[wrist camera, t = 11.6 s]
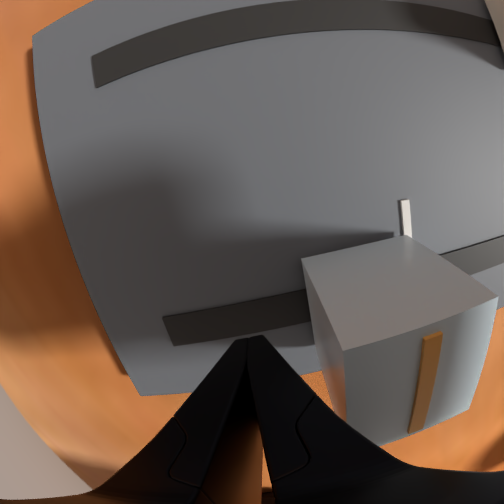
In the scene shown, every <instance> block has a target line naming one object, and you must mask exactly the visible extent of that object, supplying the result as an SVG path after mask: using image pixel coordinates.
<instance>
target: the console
mask: <svg viewBox="0 0 504 504" xmlns="http://www.w3.org/2000/svg"><path fill="white" fill-rule="evenodd" d="M32 43H33V66H34V79H35V90H36V99H37V107H38V114H39V121H40V127H41V133H42V139H43V144H44V149H45V154H46V159H47V164H48V168H49V172H50V177H51V181H52V185H53V189H54V193H55V196H56V200H57V204H58V207H59V211H60V214H61V217H62V221H63V224H64V227H65V230H66V233H67V236H68V239H69V242H70V245H71V248H72V251H73V254H74V257H75V259H76V262H77V265H78V268H79V270H80V273H81V275H82V278H83V280H84V283H85V285H86V288H87V290H88V293H89V295H90V298H91V300H92V302H93V305H94V307H95V309H96V311H97V314H98V316H99V318H100V320H101V322H102V324H103V327H104V329H105V331H106V333H107V335H108V337H109V339H110V341H111V343H112V345H113V347H114V349H115V351H116V353H117V355H118V357H119V359H120V361H121V362H122V364H123V366H124V368H125V370H126V372H127V373H128V375H129V377H130V379H131V381H132V382H133V384H134V386H135V388H136V389H137V391H138V393H139V394H140V396H152V395H167V394H179V393H190V392H193V391H194V390H195V389H196V388H197V386H198V385H199V384H200V383H201V382H202V380H203V379H204V378H205V377H206V375H207V374H208V373H209V372H210V370H211V369H212V368H213V367H214V365H215V364H216V363H217V362H218V360H219V359H220V358H221V357H222V355H223V354H224V353H225V352H226V350H227V349H228V348H229V347H230V345H231V344H232V343H233V341H234V340H236V339H241V338H249V337H252V336H257V335H264V336H265V337H266V338H267V340H268V341H269V342H270V343H271V344H272V345H273V346H274V348H275V349H276V350H277V351H278V352H279V353H280V354H281V356H282V357H283V358H284V359H285V360H286V361H287V362H288V363H289V365H290V366H291V367H292V368H293V369H294V370H295V371H296V372H297V373H298V375H303V374H308V373H312V372H317V371H321V370H322V369H321V366H320V363H319V360H318V356H317V353H316V349H315V342H314V335H313V328H312V322H311V315H310V309H309V303H308V296H307V290H306V284H305V278H304V273H303V267H302V261H301V258H306V257H310V256H315V255H319V254H324V253H328V252H333V251H337V250H342V249H346V248H351V247H355V246H359V245H364V244H368V243H372V242H377V241H381V240H385V239H390V238H394V237H398V236H402V235H408V236H409V237H411V238H413V239H414V240H416V241H417V242H419V243H421V244H422V245H424V246H425V247H427V248H429V249H430V250H432V251H433V252H435V253H436V254H438V255H440V256H441V257H443V258H444V259H446V260H447V261H449V262H450V263H452V264H453V265H455V266H456V267H458V268H459V269H461V270H462V271H464V272H465V273H466V274H468V275H469V276H471V277H472V278H474V279H475V280H477V281H478V282H479V283H481V284H482V285H484V286H485V287H486V288H488V289H489V290H490V291H492V292H493V293H495V294H496V295H497V296H499V297H498V303H497V309H499V308H502V307H504V52H503V49H502V46H501V42H500V39H499V37H498V34H497V31H496V28H495V25H494V23H493V20H492V18H491V15H490V13H489V10H488V8H487V5H486V3H485V1H484V0H94V1H92V2H90V3H88V4H86V5H84V6H82V7H80V8H78V9H76V10H74V11H73V12H71V13H69V14H67V15H65V16H64V17H62V18H60V19H58V20H57V21H55V22H53V23H52V24H50V25H49V26H47V27H45V28H44V29H42V30H41V31H39V32H38V33H36V34H35V35H33V36H32ZM497 309H496V310H497Z"/></svg>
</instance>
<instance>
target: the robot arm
mask: <svg viewBox="0 0 504 504" xmlns="http://www.w3.org/2000/svg"><path fill="white" fill-rule="evenodd" d="M263 449H264V453H265V458H266V463H267V467H268V472H269V476H270V481H271V484H272V490H273V493H266V494H262V459H263ZM0 504H504V471H496V472H473V471H455V470H443V469H433V468H424V467H418V466H413V465H410V464H407V463H405V462H402V461H401V460H399V459H397V458H395V457H394V456H392V455H390V454H389V453H387V452H386V451H385V450H383V449H382V448H380V447H379V446H377V445H376V444H375V443H373V442H372V441H370V440H369V439H367V438H366V437H365V436H363V435H362V434H361V433H359V432H358V431H356V430H355V429H354V428H352V427H351V426H350V425H349V424H347V423H346V422H345V421H344V420H342V419H341V418H340V417H339V416H338V415H337V414H335V413H334V412H333V411H332V410H331V409H330V408H329V407H328V406H327V405H326V404H325V403H324V402H323V401H322V399H321V398H320V397H319V396H317V394H316V393H315V392H314V391H313V390H312V389H311V388H310V387H309V386H308V384H307V383H306V382H305V381H304V380H303V379H302V378H301V377H300V376H299V375H298V373H297V372H296V371H295V370H294V369H293V368H292V367H291V366H290V365H289V363H288V362H287V361H286V360H285V359H284V358H283V357H282V356H281V354H280V353H279V352H278V351H277V350H276V349H275V348H274V346H273V345H272V344H271V343H270V342H269V341H268V340H267V338H266V337H265V336H264V335H257V336H252V337H249V338H241V339H236V340H234V341H233V343H232V344H231V345H230V347H229V348H228V349H227V350H226V352H225V353H224V354H223V355H222V357H221V358H220V359H219V360H218V362H217V363H216V364H215V365H214V367H213V368H212V369H211V370H210V372H209V373H208V374H207V375H206V377H205V378H204V379H203V380H202V382H201V383H200V384H199V385H198V386H197V388H196V389H195V390H194V391H193V393H192V394H191V395H190V396H189V397H188V399H187V400H186V401H185V402H184V403H183V405H182V406H181V407H180V408H179V409H178V411H177V412H176V413H175V414H174V417H172V418H171V419H170V420H169V421H168V422H167V424H166V425H165V426H164V427H163V428H162V429H161V430H160V431H159V433H158V434H157V435H156V436H155V437H154V438H153V439H152V440H151V441H150V442H149V443H148V444H147V445H146V446H145V447H144V448H143V449H142V450H141V451H140V452H139V453H138V454H137V455H136V456H134V457H133V458H132V459H131V460H130V461H129V462H128V463H127V464H125V465H124V466H123V467H122V468H121V469H120V470H119V471H118V472H116V473H115V474H114V475H113V476H112V477H111V478H110V479H108V480H107V481H106V482H105V483H103V484H102V485H101V486H99V487H98V488H96V489H94V490H92V491H90V492H87V493H83V494H79V495H72V496H64V497H55V498H43V499H25V500H4V499H0Z"/></svg>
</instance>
